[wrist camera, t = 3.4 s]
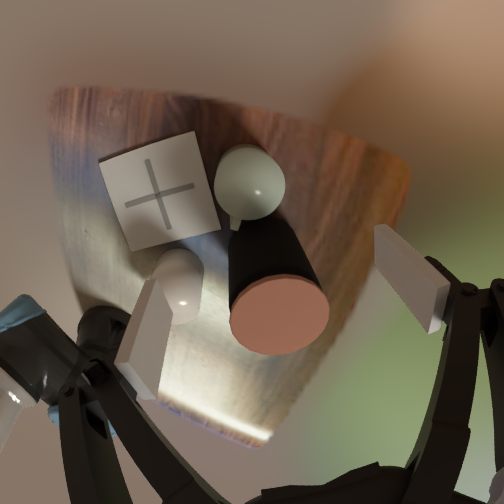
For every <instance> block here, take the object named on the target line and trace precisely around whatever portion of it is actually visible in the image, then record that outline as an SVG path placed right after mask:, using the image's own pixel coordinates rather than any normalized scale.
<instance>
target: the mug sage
mask: <svg viewBox="0 0 504 504" xmlns="http://www.w3.org/2000/svg"><path fill="white" fill-rule="evenodd" d="M214 192H215V196H216V199H217V201H218V203H219V205H220V206H221V207H222V209H223V210H224V211H225V212H227V213H228V214H230V229H232V230H236V231H238V229H239V226H240V223H241V220H256V219H260V218H263V217H265V216H267V215H269V214H270V213H271V212H273V211H274V210H275V209H276V208H277V207H278V205H279V204H280V202H281V201H282V198H283V196H284V192H285V179H284V175H283V173H282V171H281V169H280V167H279V166H278V165H277V163H276V162H275V161H274V160H273V159H272V158H271V157H270V156H269V155H268V154H267V152H265V151H264V150H263V149H262V148H260V147H258V146H256V145H252V144H239V145H236V146H234V147H232V148H230V149H228V150H227V151H226V152H225V153H224V154H223V156H222V157H221V159H220V161H219V163H218V168H217V172H216V177H215V181H214Z"/></svg>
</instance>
